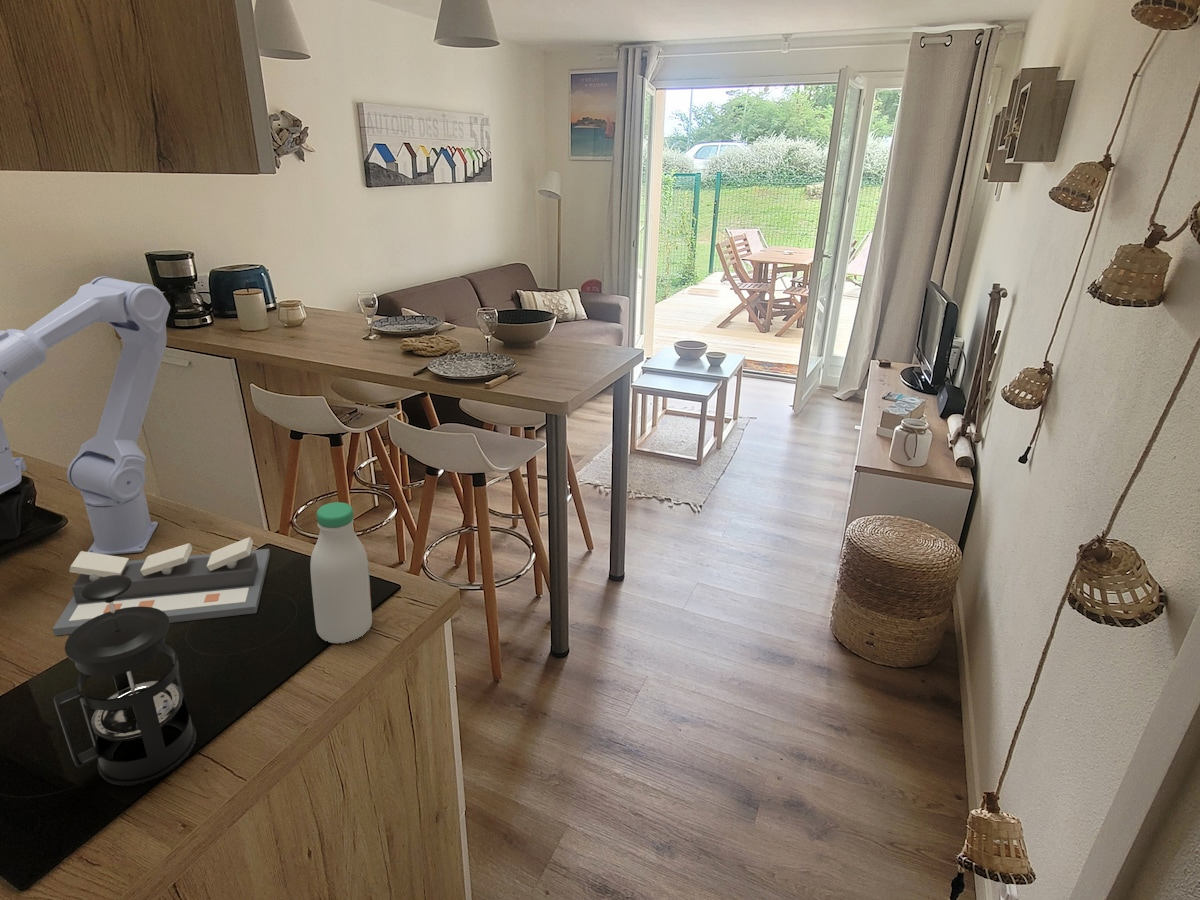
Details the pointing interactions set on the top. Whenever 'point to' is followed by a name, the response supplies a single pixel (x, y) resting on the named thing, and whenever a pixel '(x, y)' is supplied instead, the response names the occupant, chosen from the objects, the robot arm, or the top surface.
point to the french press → (127, 688)
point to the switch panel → (178, 591)
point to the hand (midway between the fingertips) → (9, 536)
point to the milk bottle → (340, 577)
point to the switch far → (230, 554)
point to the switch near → (98, 565)
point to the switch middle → (166, 560)
